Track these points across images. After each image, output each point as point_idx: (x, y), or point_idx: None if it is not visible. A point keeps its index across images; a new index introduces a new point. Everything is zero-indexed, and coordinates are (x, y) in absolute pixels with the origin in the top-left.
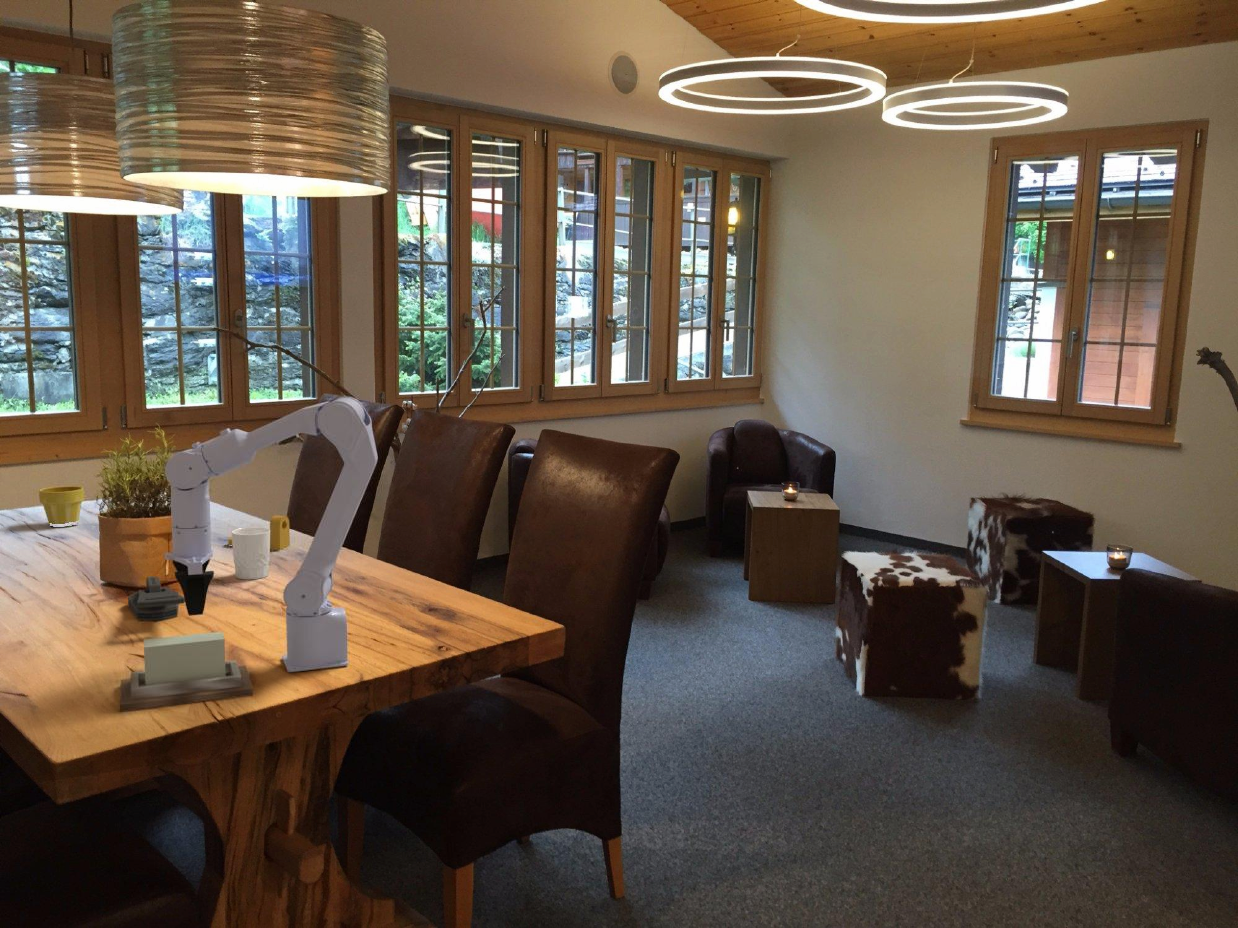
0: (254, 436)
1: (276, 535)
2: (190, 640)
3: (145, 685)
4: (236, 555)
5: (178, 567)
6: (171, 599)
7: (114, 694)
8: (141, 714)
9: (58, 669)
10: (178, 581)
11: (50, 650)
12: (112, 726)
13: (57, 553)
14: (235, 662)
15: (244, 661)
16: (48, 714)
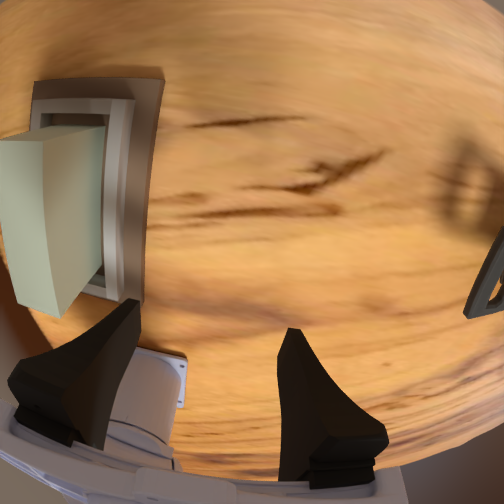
0: None
1: None
2: (14, 246)
3: (100, 125)
4: None
5: (317, 429)
6: (477, 296)
7: (123, 67)
8: (21, 114)
9: (362, 3)
10: (23, 359)
11: (479, 48)
12: (4, 77)
13: None
14: (106, 296)
15: (201, 315)
16: None
